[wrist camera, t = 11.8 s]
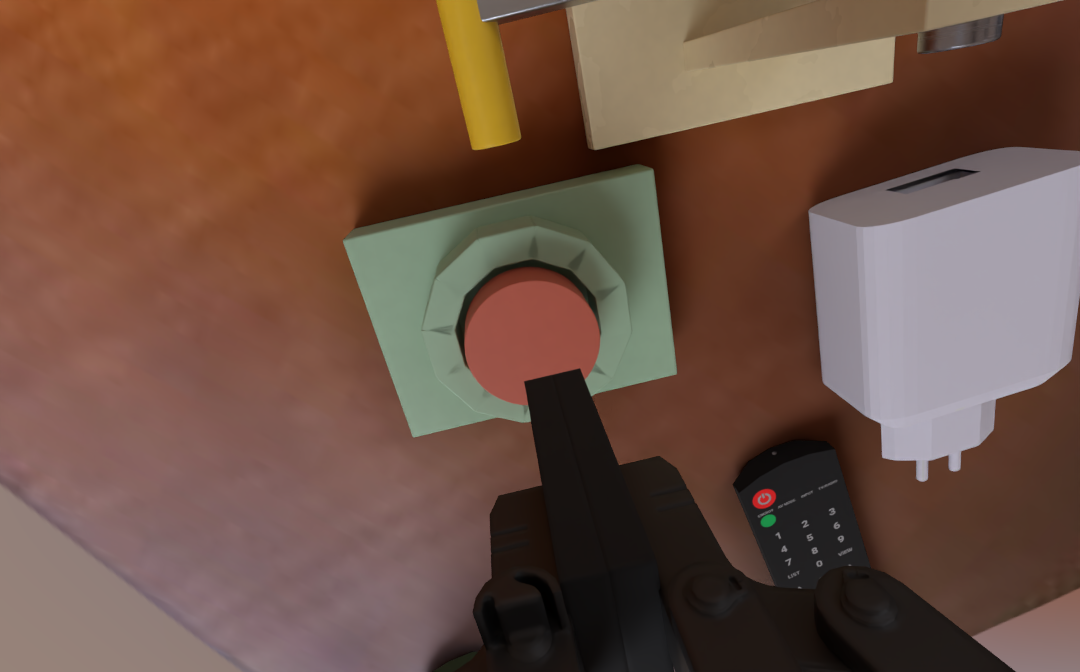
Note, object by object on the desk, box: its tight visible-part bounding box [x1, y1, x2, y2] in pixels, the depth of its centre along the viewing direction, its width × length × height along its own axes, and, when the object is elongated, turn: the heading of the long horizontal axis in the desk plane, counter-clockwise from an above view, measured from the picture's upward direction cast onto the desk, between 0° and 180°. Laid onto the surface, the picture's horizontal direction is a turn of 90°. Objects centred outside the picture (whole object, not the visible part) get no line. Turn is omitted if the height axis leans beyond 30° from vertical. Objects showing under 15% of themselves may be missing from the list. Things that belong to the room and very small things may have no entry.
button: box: [464, 267, 600, 405], centre depth 20 cm, size 5×5×2 cm
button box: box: [343, 164, 677, 437], centre depth 22 cm, size 12×9×4 cm
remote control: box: [733, 440, 871, 589], centre depth 33 cm, size 5×24×1 cm, turn 26°
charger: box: [808, 147, 1080, 481], centre depth 25 cm, size 5×9×15 cm
